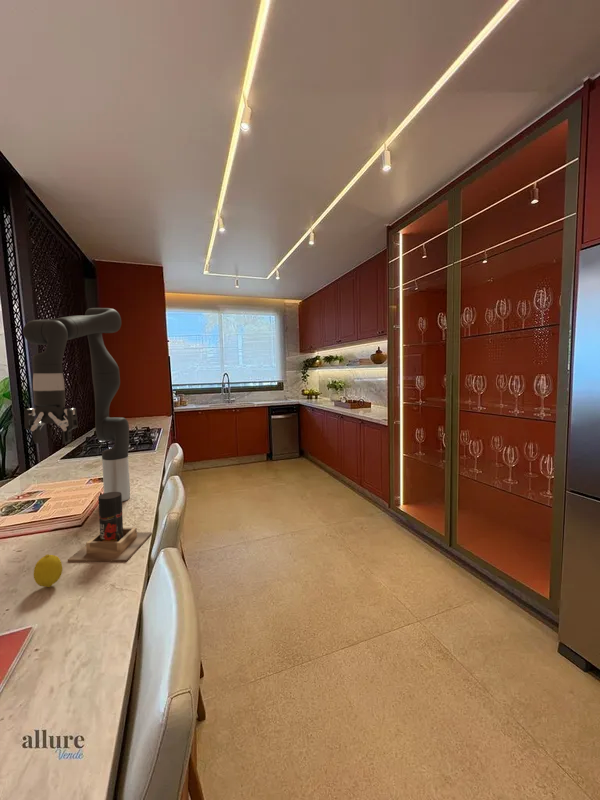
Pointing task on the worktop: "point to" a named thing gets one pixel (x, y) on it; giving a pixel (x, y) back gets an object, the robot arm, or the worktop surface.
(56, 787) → the worktop surface
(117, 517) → the deodorant
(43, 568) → the lemon
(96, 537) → the socket
